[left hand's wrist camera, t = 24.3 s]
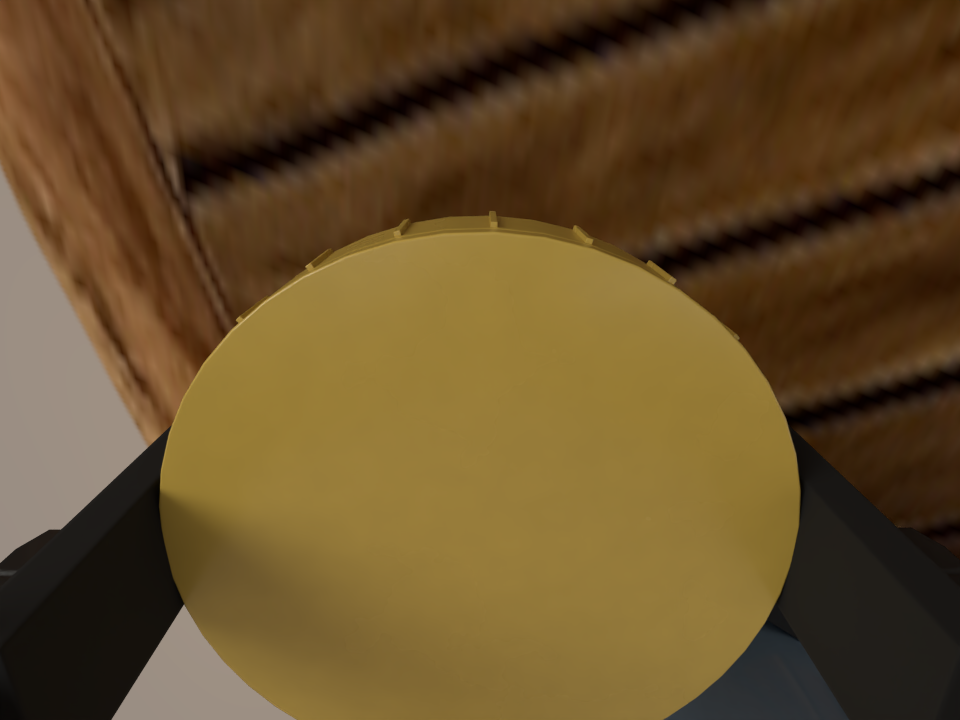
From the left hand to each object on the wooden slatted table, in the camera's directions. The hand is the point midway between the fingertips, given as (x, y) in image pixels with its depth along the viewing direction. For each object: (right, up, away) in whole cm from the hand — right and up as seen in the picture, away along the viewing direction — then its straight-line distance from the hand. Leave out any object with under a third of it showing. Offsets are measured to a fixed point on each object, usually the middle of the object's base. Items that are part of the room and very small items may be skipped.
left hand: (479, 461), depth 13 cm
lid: (0, -1, -3) cm, 3 cm away
